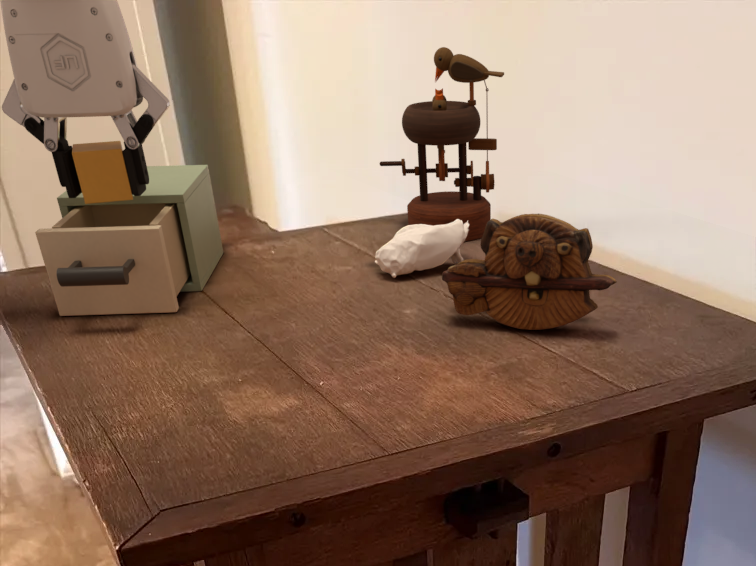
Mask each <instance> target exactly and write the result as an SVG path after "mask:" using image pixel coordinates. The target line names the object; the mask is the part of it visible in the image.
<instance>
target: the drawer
mask: <svg viewBox="0 0 756 566" xmlns="http://www.w3.org/2000/svg"><path fill="white" fill-rule="evenodd" d="M34 233H35V236H36V240H37V244H38V247H39V250H40V254H41V257H42V259H43V264H44V267H45V270H46V273H47V277H48V279H49V284H50V288H51V291H52V294H53V297H54V300H55V304H56V308H57V311H58V314H59V316H60V317H65V316H66V317H69V316H70V317H71V316H72V317H73V316H100V315H101V316H102V315H104V316H105V315H131V314H134V315H135V314H160V313H161V314H163V313H177V312H178V311H179V309H180V306H179V302H178V298H177V297H178V295H179V293H181V292H180V290H181V289H182V287H183V286H184V284H185V282H186V281H187V279H188V278H189V276H190V274H191V271H190V266H189V261H188V256H187V251H186V247H185V242H184V237H183V232H182V227H181V222H180V217H179V212H178V207H177V203H157V204H121V205H85V206H76V207H75V208H74V209H73V210H72V211H70V212H69V213H68V214H67V215H66V216H64V217H63V218H62V217H61V219H59V220H58V221H57V222H56V223H55V224H53V226H51V228H37V230H36V231H35V232H34Z"/></svg>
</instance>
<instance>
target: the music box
mask: <svg viewBox="0 0 756 566" xmlns="http://www.w3.org/2000/svg"><path fill="white" fill-rule="evenodd" d="M433 63H434V66H435V75H434V76H435V77H434V83H437V81H438V80H439V79H440V78H441V76H442V75H443V73H445V72H447V73H448V75H449V77H450V78H451V79H452V81H454V82H458V83H464V84H469V85H468V86H469V99H468V100H467V101H460V100H459V101H458V100H447V98H446V96H445V95H444V88H441V89H437V88H435V89H434V96H433V97H432V100H431V101H429V100H428V101H421V102H419V101H418V102H413V103H411V104H409V105H407V106H406V108H405V110H403V114H402V117H401V127H402V130H403V133H404V135H405V137H406V138H407V139H408V140H409V141H410V142H412V143H414V144H417V161H418V163H417V165H418V166H416V165H415V166H414V168H406V161H405V158H401V160H394V161H393V160H389V161H385V160H383V161H379V166H380V167H401V173H402V176H404V177H406V176H407V174H414V176H417V177H418V182H419V183H418V184H419V195H416V196H415V197H413V198H412V199H411V200H410V202H409V203H408V204H407V206H406V207H407V209H406V211H407V225H414V224H426V225H432V226H434V225H444V224H449V223H452V222H454V221H455V220H456V219H459V220H462V222H463V225H464V223H466V222H467V221H468V223H469V227H468V229H469V231H468V234H467V237H466V239H465V241H464V242H470V241H475V240H479V239H482V236H483V234H484V231H485V227H486V224H487V222H488V221H490V220H491V219H492V218H491V217H492V216H491V215H492V213H491V209H492V208H491V202H490V201H489V200H488V199H487V198H486V197H485V196H483V195H482V191H483V190H484V191H485V193H486V194H487V193H490V191H491V190H492V191H493V190H495V174H494V173H490V161H489V151H496V150H498V139H497V138H488V137H489V127H488V126H489V124H488V123H489V120H488V119H489V118H488V117H489V115H488V113H489V111H488V109H489V108H488V107H489V106H488V104H489V103H488V96H489V95H488V93H489V91H490V90H489V87H488V86H487V83H486V80H487V79H489V77H495V78H496V77H497V78H503V76H504V75H505V72H504V71H495V70H489V69H488V67H486V66H485V65H484V64H483V63H481V62H480V61H478V60H476V59H475V58H473V57H471V56H468V55H466V54H462V53H456V54H454V53H453V52H452V50H451V49H450V48H448V47H445V46H441V47H439V48H438V49H436V51H435V52H434V55H433ZM480 82H484V86H485V92H486V93H485V95H486V103H485V104H486V137H485V138H484V137H483V138H482V137H480V138H479V137H478V138H476V137H477V135H478V134H479V132H480V128H481V116H480V112H479V110H478V108H477V107H476V106H477V100H476V99H475V88H474V87H475V85H474V84H475V83H480ZM467 144H468V145H467ZM455 145H456V146H457V147H458V149H457V151H458V152H457V153H458V167H449V163H448V162H445V161H446V160H445V154H446V149H445V146H455ZM427 146H436V149H437V157H438V158H437V159H438V160H437V161H438V162H437V163H435V168H433V167H432V168H431V167H430V168H428V167H427V164H428V163H427ZM467 147H468V148H467ZM467 149H468V150H469V151H486V160H485V173H480V175H474V160H470V164H469V165H468V160H467V158H468V157H467V156H468V155H467ZM449 173H450V174H451V173H458V177H455V178H454V180H453V185H454V186H455V188H459V189H458V191H451V190H450V191H435V192H429V190H428V189H429V187H428V174H435V178H436V179H437V178H438V181H439V182H446V178H449ZM468 175H470V177H468ZM469 187H470V188H471V187H472V192H469V191H468V188H469Z"/></svg>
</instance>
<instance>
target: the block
mask: <svg viewBox="0 0 756 566" xmlns="http://www.w3.org/2000/svg"><path fill="white" fill-rule="evenodd" d="M123 150H124V149H123V145H122V142H121V140H112V141H111V140H110V141H100V142H96V141H95V142H85V143H84V142H83V143H73V144H72V156H73V160H74V163H75V167H76V171H77V175H78V179H79V182H80V186H81V190H82V194H83V198H84V201H85V204H91V203H102V202H114V201H125V200H133V195H132V192H131V188H130V183H129V179H128V175H127V170H126V166H125V162H124V158H123V153H122V151H123Z"/></svg>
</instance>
